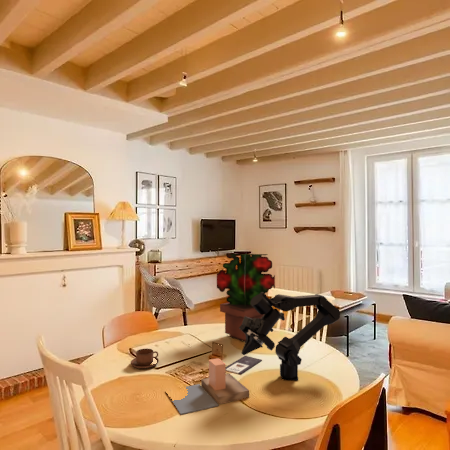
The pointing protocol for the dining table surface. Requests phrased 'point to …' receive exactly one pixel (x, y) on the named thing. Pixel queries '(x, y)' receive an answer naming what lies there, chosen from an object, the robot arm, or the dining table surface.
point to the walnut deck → (226, 390)
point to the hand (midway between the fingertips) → (242, 354)
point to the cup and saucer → (144, 358)
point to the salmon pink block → (217, 374)
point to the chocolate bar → (243, 365)
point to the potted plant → (243, 289)
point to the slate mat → (195, 400)
